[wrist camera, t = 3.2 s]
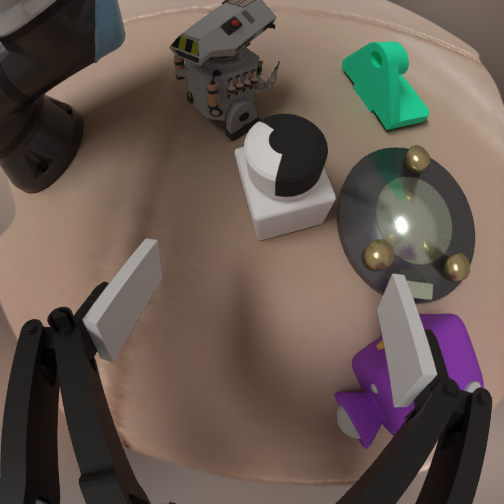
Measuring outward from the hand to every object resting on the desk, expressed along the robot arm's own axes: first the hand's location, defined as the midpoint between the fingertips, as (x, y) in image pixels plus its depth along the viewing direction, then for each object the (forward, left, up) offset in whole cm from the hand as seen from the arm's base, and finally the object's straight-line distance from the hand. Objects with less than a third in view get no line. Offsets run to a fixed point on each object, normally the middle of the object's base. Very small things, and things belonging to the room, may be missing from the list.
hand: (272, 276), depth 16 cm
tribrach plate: (+15, +10, -14) cm, 22 cm away
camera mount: (+12, +28, -14) cm, 34 cm away
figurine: (-7, +23, -14) cm, 27 cm away
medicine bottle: (0, +10, -14) cm, 17 cm away
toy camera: (+14, -8, -14) cm, 21 cm away
